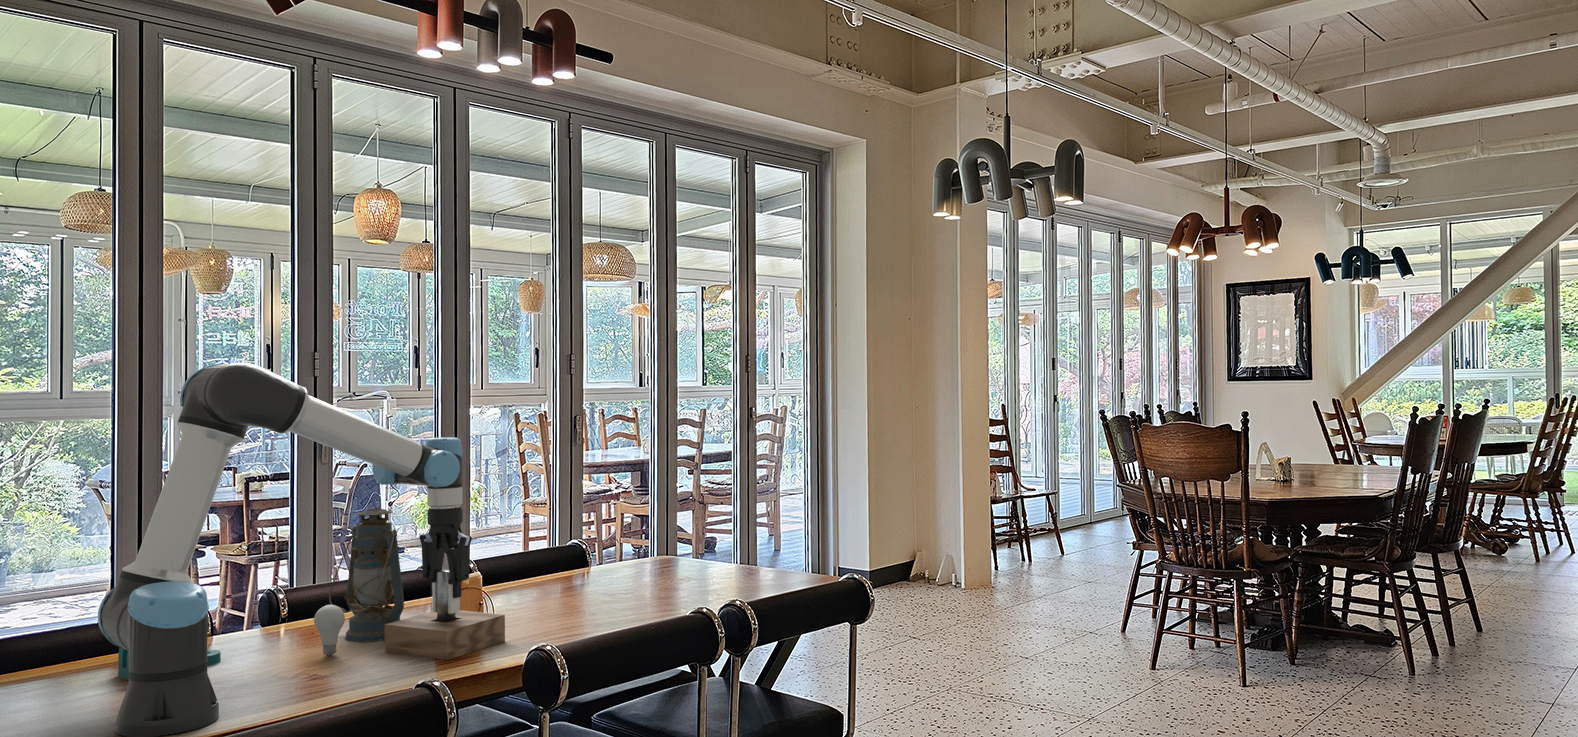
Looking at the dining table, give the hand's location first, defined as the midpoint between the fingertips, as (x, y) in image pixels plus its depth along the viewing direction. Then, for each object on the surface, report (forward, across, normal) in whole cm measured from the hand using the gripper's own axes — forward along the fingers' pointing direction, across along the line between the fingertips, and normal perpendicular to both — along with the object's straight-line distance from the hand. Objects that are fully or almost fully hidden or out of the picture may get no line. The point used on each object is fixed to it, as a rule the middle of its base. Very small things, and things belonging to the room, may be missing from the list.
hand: (446, 611), depth 232 cm
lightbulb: (+8, +17, +16) cm, 25 cm away
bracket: (+8, +39, +37) cm, 54 cm away
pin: (+3, 0, 0) cm, 3 cm away
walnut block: (+8, 0, 0) cm, 8 cm away
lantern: (+8, +24, -1) cm, 25 cm away
